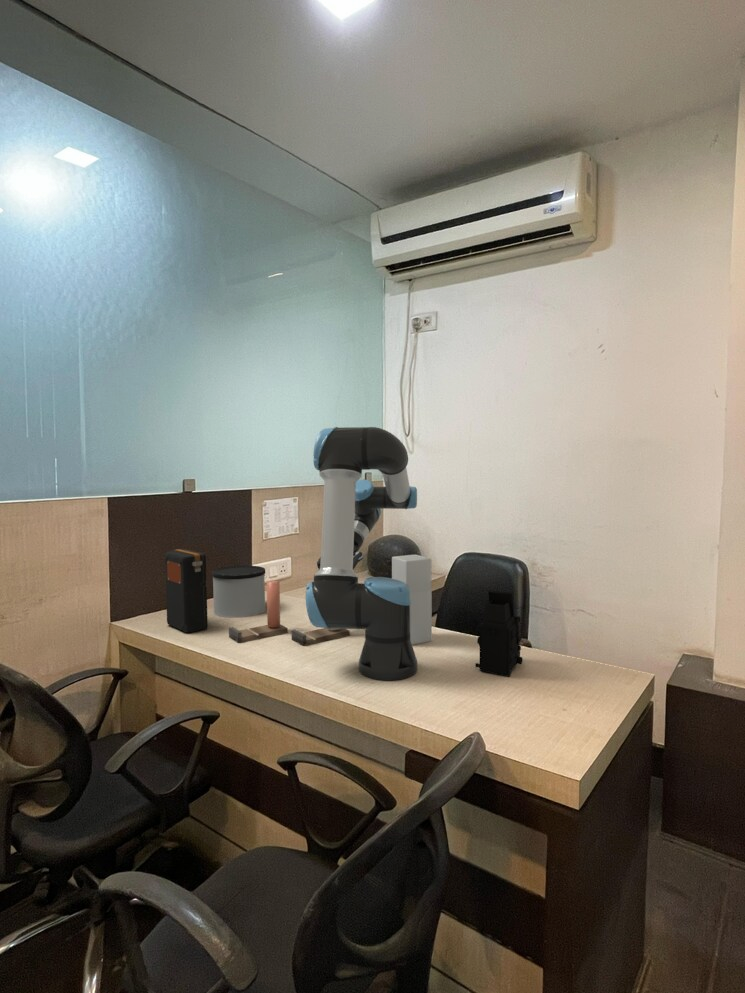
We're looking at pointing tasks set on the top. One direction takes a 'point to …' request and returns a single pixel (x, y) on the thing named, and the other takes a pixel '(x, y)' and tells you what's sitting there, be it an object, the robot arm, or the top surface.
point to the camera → (499, 635)
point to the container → (238, 591)
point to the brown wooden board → (317, 635)
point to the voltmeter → (186, 590)
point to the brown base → (255, 633)
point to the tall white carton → (416, 593)
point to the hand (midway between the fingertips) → (321, 587)
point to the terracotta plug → (273, 603)
